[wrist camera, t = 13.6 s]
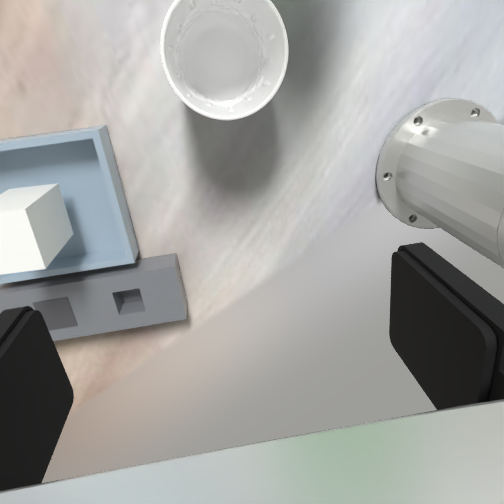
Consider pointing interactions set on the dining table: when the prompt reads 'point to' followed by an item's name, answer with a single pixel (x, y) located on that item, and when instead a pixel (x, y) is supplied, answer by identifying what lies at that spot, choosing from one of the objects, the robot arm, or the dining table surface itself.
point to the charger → (32, 227)
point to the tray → (75, 196)
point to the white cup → (224, 55)
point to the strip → (103, 297)
